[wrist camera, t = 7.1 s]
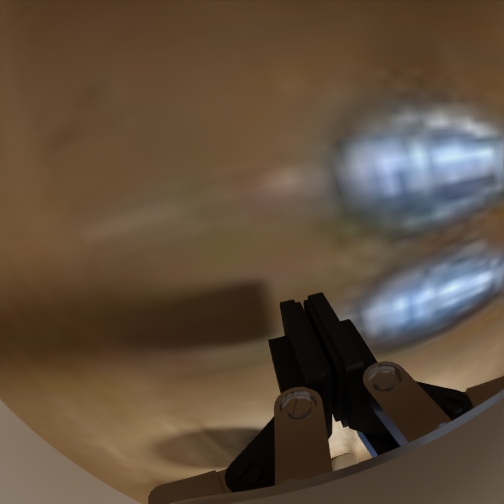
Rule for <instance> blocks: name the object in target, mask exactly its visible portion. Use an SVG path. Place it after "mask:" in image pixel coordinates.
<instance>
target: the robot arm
mask: <svg viewBox="0 0 504 504" xmlns="http://www.w3.org/2000/svg"><path fill="white" fill-rule="evenodd" d="M280 309H281V315H282V321H283V327H284V333H285V336H283V337H279V338H275V339H270V340H268V342H269V347H270V351H271V356H272V360H273V365H274V369H275V373H276V377H277V381H278V385H279V389H280V393H281V395H279V396H278V398H277V400H276V401H275V405H274V417H273V418H272V419H271V420H270V422H269V423H268V424H267V425H266V426H265V427H264V429H263V430H262V431H261V432H260V433H259V434H258V435H257V436H256V437H255V439H254V440H253V441H252V442H251V443H250V444H249V445H248V446H247V447H246V448H245V449H244V451H243V452H242V453H241V454H240V455H239V456H238V457H237V458H236V459H235V460H234V461H233V462H232V463H231V464H230V466H229V467H228V468H227V469H225V470H222V471H219V472H216V471H215V470H214V471H211V472H207V473H204V474H201V475H197V476H194V477H190V478H186V479H182V480H178V481H174V482H170V483H166V484H162V485H159V486H157V487H155V488H154V489H153V490H152V491H151V492H150V495H149V497H148V504H504V376H502V377H500V378H497V379H494V380H491V381H489V382H486V383H483V384H480V385H477V386H474V387H470V388H467V389H466V391H465V392H461V391H458V390H454V389H449V388H444V387H439V386H435V385H430V384H426V383H421V382H417V381H415V380H414V379H413V378H412V377H411V376H410V375H409V374H408V373H407V372H406V371H405V370H404V369H403V368H402V367H401V366H400V365H398V364H396V363H393V362H387V361H384V362H377V361H376V359H375V357H374V356H373V354H372V353H371V351H370V350H369V348H368V346H367V345H366V343H365V342H364V340H363V338H362V337H361V335H360V334H359V332H358V331H357V329H356V328H355V326H354V324H353V323H352V322H351V320H349V319H347V320H344V321H339V319H338V317H337V316H336V314H335V312H334V311H333V309H332V307H331V306H330V304H329V302H328V301H327V299H326V297H325V296H324V294H323V293H322V292H321V293H317V294H313V295H309V296H308V300H305V301H304V309H303V307H302V305H301V303H300V302H296V303H295V301H294V300H289V301H285V302H280ZM332 414H333V416H334V419H335V421H336V422H337V421H340V420H341V423H342V425H343V428H344V427H347V426H349V428H350V429H353V430H356V431H357V433H358V435H359V437H360V439H361V440H362V442H363V443H364V445H365V446H366V448H367V450H368V451H369V453H370V454H371V456H372V457H373V458H371V459H368V460H366V461H363V462H360V463H357V464H354V465H351V466H348V467H345V468H342V469H339V470H336V471H332V463H331V456H330V449H329V442H328V439H329V438H330V436H331V435H332Z"/></svg>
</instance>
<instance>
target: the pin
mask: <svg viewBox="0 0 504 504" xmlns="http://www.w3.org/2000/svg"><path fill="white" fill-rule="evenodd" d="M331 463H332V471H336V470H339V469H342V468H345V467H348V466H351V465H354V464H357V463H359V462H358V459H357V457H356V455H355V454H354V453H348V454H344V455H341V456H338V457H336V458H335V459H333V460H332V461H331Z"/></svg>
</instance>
